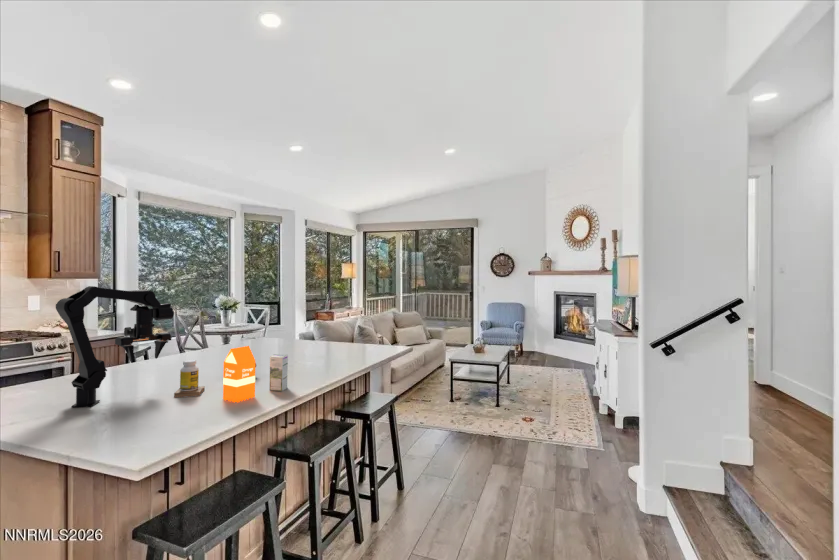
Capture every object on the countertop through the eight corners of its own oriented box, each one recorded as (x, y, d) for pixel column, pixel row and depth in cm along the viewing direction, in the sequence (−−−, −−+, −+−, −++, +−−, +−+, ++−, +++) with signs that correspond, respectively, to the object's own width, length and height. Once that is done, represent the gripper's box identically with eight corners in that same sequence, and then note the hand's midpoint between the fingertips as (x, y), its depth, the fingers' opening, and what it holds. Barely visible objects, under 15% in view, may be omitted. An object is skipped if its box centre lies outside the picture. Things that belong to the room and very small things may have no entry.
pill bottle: (186, 392, 169) (187, 363, 169) (176, 390, 172) (176, 361, 172) (201, 389, 175) (202, 360, 174) (191, 386, 178) (191, 358, 177)
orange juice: (222, 399, 166) (223, 347, 166) (241, 394, 174) (242, 344, 173) (236, 402, 162) (237, 349, 162) (255, 397, 170) (256, 346, 170)
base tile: (199, 395, 170) (199, 392, 170) (174, 397, 168) (174, 393, 168) (204, 389, 179) (204, 386, 179) (180, 391, 176) (180, 387, 176)
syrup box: (287, 387, 185) (288, 354, 185) (282, 391, 179) (282, 356, 179) (275, 387, 185) (275, 353, 185) (268, 390, 179) (269, 356, 179)
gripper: (158, 318, 185) (158, 354, 185) (108, 321, 170) (108, 361, 170) (172, 320, 179) (171, 357, 179) (122, 324, 163) (121, 365, 164)
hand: (144, 360), depth 173 cm, fingers open, 9 cm apart
